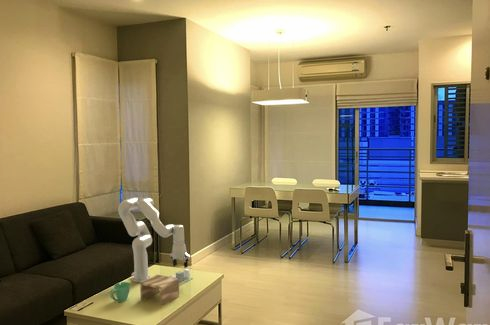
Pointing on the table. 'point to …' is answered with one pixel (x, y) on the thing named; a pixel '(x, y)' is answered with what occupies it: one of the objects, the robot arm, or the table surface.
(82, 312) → the table surface
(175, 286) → the wooden bridge
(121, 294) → the mug
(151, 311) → the table surface
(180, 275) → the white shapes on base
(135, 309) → the table surface
